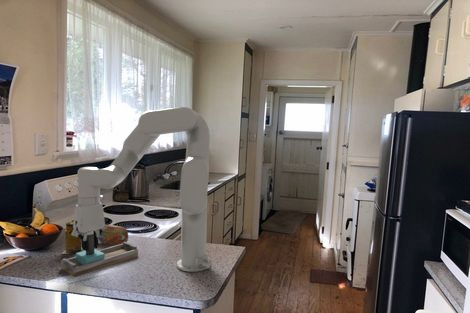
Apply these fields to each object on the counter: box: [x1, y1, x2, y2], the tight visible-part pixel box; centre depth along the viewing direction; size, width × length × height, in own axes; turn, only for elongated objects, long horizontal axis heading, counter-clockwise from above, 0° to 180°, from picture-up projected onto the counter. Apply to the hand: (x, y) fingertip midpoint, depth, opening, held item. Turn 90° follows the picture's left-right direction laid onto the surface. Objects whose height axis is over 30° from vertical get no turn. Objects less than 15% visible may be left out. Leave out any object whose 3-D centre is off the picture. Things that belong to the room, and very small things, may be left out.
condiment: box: [61, 220, 85, 255], centre depth 147 cm, size 7×8×12 cm
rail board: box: [60, 241, 139, 278], centre depth 136 cm, size 10×26×4 cm, turn 140°
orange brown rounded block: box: [98, 224, 129, 246], centre depth 156 cm, size 15×3×8 cm, turn 70°
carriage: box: [75, 233, 105, 265], centre depth 132 cm, size 8×7×10 cm
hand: (90, 248), depth 132 cm, fingers closed on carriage, 3 cm apart
